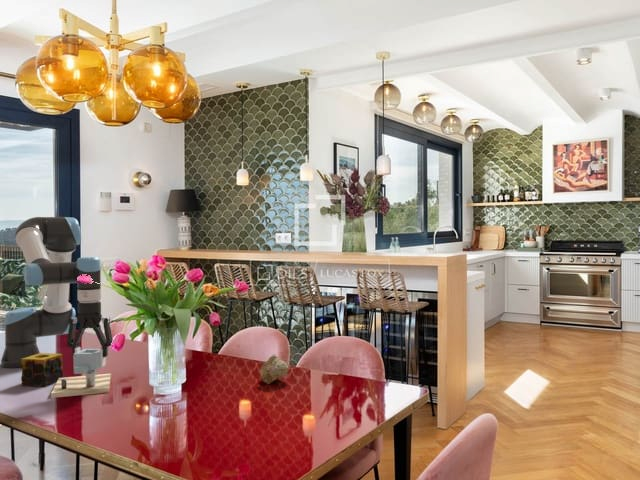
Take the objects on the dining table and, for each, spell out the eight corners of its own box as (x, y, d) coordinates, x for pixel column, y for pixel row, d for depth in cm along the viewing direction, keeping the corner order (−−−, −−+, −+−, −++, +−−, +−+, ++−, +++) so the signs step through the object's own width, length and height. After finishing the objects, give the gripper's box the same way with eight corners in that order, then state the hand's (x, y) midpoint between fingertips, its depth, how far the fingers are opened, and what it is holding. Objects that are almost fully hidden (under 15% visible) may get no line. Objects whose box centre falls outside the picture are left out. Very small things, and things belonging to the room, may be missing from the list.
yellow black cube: (44, 387, 193) (44, 359, 193) (20, 386, 195) (19, 358, 195) (63, 379, 203) (63, 353, 203) (40, 378, 205) (39, 352, 205)
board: (58, 382, 199) (58, 378, 199) (110, 377, 205) (110, 373, 205) (51, 397, 180) (51, 393, 180) (108, 392, 186) (108, 387, 186)
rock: (293, 382, 197) (292, 354, 196) (272, 388, 189) (271, 360, 189) (271, 376, 205) (270, 350, 205) (250, 382, 197) (249, 355, 197)
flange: (84, 364, 192) (83, 348, 192) (106, 364, 192) (106, 348, 192) (66, 373, 179) (66, 357, 179) (90, 373, 179) (90, 357, 179)
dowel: (61, 388, 186) (61, 379, 186) (66, 387, 186) (66, 379, 186) (61, 389, 184) (61, 380, 184) (66, 388, 185) (66, 380, 185)
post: (86, 385, 189) (86, 367, 189) (95, 384, 190) (95, 366, 190) (85, 387, 186) (85, 369, 186) (95, 387, 187) (94, 368, 187)
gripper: (54, 303, 184) (55, 369, 184) (114, 302, 184) (115, 368, 184) (65, 300, 191) (66, 363, 192) (123, 299, 191) (124, 363, 191)
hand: (90, 366), depth 188 cm, fingers closed on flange, 8 cm apart
